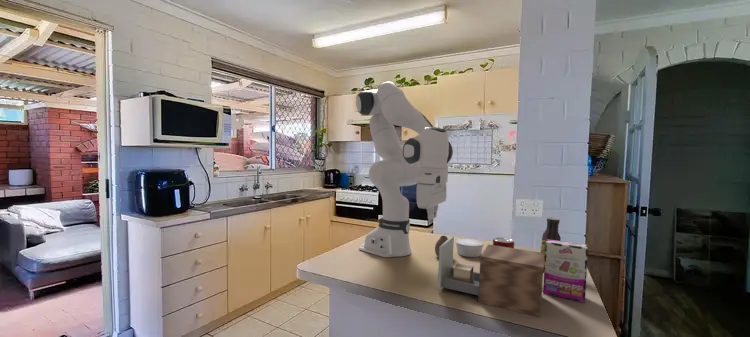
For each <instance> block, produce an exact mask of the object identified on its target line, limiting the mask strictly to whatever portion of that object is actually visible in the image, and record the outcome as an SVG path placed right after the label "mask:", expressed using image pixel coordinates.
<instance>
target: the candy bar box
mask: <svg viewBox="0 0 750 337" xmlns="http://www.w3.org/2000/svg"><path fill="white" fill-rule="evenodd" d="M588 252H589V248H588V244H584V243H577V242H571V241H562V240H561V241H557V240H550V239H547V241H546V245H545V266H544V271H543V284H542V294H544V295H549V296H553V297H558V298H562V299H563V298H564V299H567V300H572V301H576V302H581V303H585V302H586V295H587V294H586V291H587V290H586V288H587V273H588V271H587V270H588V254H589V253H588Z"/></svg>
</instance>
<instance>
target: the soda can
mask: <svg viewBox="0 0 750 337" xmlns="http://www.w3.org/2000/svg"><path fill="white" fill-rule="evenodd" d="M492 245H495V246H502V247H508V248H515V241H514V240H513V239H512V238H507V237H503V236H502V237H498V236H497V237H495V238H493V239H492Z"/></svg>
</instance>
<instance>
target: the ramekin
mask: <svg viewBox="0 0 750 337" xmlns="http://www.w3.org/2000/svg"><path fill="white" fill-rule="evenodd" d="M455 244H456V251H457V253H458V254H459V255H460V256H462V257H466V258H478V257H480V256H481V255H482V253H483V251H482V250H483V247H484V242H482V241H480V240H479V239H473V238H458V239H456V240H455Z"/></svg>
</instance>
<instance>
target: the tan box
mask: <svg viewBox="0 0 750 337" xmlns="http://www.w3.org/2000/svg"><path fill="white" fill-rule="evenodd" d="M479 257H480V259H479V260H480V261H479V262H480V264H479V273H480V276H479V296H477V299H478V300H477V301H478V303H480V304H484V305H489V306H494V307H497V308H501V309H506V310H509V311H513V312H518V313H521V314H526V315H530V316H535V317H538V318H541V316H542V314H541V312H542V297H543V296H542V295H543V283H544V271H543V264H544V253H540V251H532V250H526V249H518V248H515V247H514V248H508V247H502V246H495V245H493V244H487V246H486V247H485V249H484V250H483V251H482V252H481V255H480V256H479Z"/></svg>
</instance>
